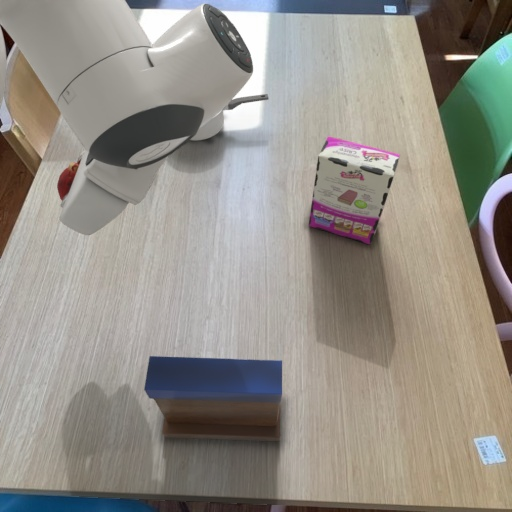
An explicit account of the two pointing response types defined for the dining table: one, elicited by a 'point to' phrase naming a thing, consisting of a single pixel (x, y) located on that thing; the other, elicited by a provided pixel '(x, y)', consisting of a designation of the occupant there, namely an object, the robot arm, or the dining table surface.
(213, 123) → the saucepan
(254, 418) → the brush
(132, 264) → the dining table surface
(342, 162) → the candy bar box
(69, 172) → the red pomegranate
